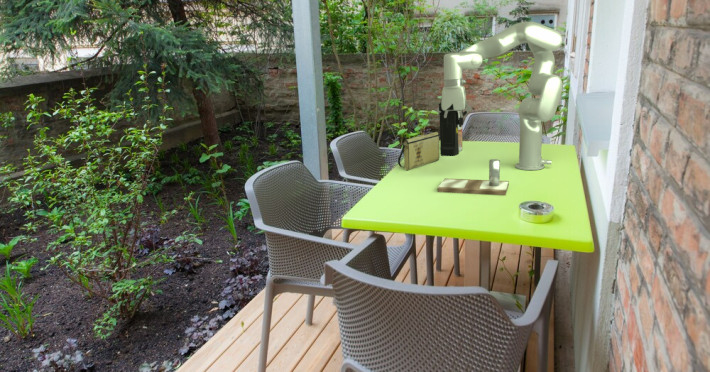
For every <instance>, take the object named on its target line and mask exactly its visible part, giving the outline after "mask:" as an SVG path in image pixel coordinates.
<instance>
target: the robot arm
mask: <svg viewBox="0 0 710 372" xmlns="http://www.w3.org/2000/svg"><path fill="white" fill-rule="evenodd" d="M522 44H527V45H528V48H529V50H530V51H531V53H532V55H533V58H534V63H533V68H532V72H531V75H530V78H529V82H528V85H527V87H528V88H527V90H528V92H529V93H530V94H531V95H534V96H539V97H538V98H536V97H528V98H525V99H523V100H522V101H521V102H520V103H519V104H518V105H519V106H518V117H519V146H518V147H519V151H518V162H517V163H515V165H514V166H515V169H518V170H524V171H538V170H543V169H544V168H545V165H549V166H550V165H552V159H551V160H550V159H543V158H542V145H543V144H542V143H543V141H542V140H543V124H542V122H543V123H545V122H549V121H551V120H553V118H554V117H555V114H556V112H557V108H558V106H559V103H560V99H561V96H562V92H563V88H564V87H563V81H562V79H561V77H560V76H559V75H557V74H554V69H555V63H556V61H555V60H556V59H555V55H554V51H557V50H558V49H560V48H561V46H562V44H563V36H562V34H561V33H560V32H559V31H558V30H556V29H555V28H551V27H549V26H546V25H544V24H541V23H538V22H536V21H523V22H521V21H520V22H517V23H515V24H513V25H511V26H509V27H507V28H506V29H504V30H502V31H499V32H498V33H496V34H494V35H492V36H489V37H488V38H485V39H484V40H481V41H479V42H476V43H474V44H472V45H470V46H468V47H466V48H464V49H462V50H460V51H459V52H451V53H450V52H449V53H445V54H444V55H443V80H444V81H443V83H444V84H443V87H442V91H441V98H442V99H441V98H440V103H441V108H442V110H443V111H445V114H444V118H446V117H447V114H448V111H459V114H460V118H459V127H462V128H463V126H464V117H465V115H467V114H468V113H469V112H470V111H471V110H472V107H471V106H470V105H469V104H468V102H467V92H466V88H465V85H464V84H467V80H465V79H464V78H463V70H465V71H467V70H468V71H472V70H477V69H479V68H480V67H481V65H482V64H483V60H485V59H488V58H495V57H497V56H501V55H503V54H505V53H507V52H508V51H510V50H512V49H514V48H515V47H518V46H520V45H522ZM452 104H453V107H454V110H447V109H448V108H449V107H450V106H451V105H452ZM436 112H437V113H440V112H441V111H439V106H438V107H437V108H436ZM441 115H442V116H443V112H441ZM446 127H448V118H446Z"/></svg>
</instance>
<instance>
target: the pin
mask: <svg viewBox="0 0 710 372" xmlns="http://www.w3.org/2000/svg"><path fill="white" fill-rule="evenodd" d="M488 161H489V166H488V169H489V171H488V180H489V186H499V181H501V180H500V176H501V175H500V172H501V171H500V170H501V168H500V167H501V159H498V158H495V159H493V158H492V159H489V160H488Z"/></svg>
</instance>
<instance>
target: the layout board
mask: <svg viewBox="0 0 710 372" xmlns="http://www.w3.org/2000/svg"><path fill="white" fill-rule="evenodd" d="M509 183H510V181H509V180H499V186H489V179H470V178H469V179H467V178H466V179H465V178H444V179H443V180H442V181H441V183H440V184H439V185H438V186H437V193H448V194H449V193H450V194H453V193H454V194H471V195H493V196H507V192H508V188H509Z"/></svg>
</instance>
